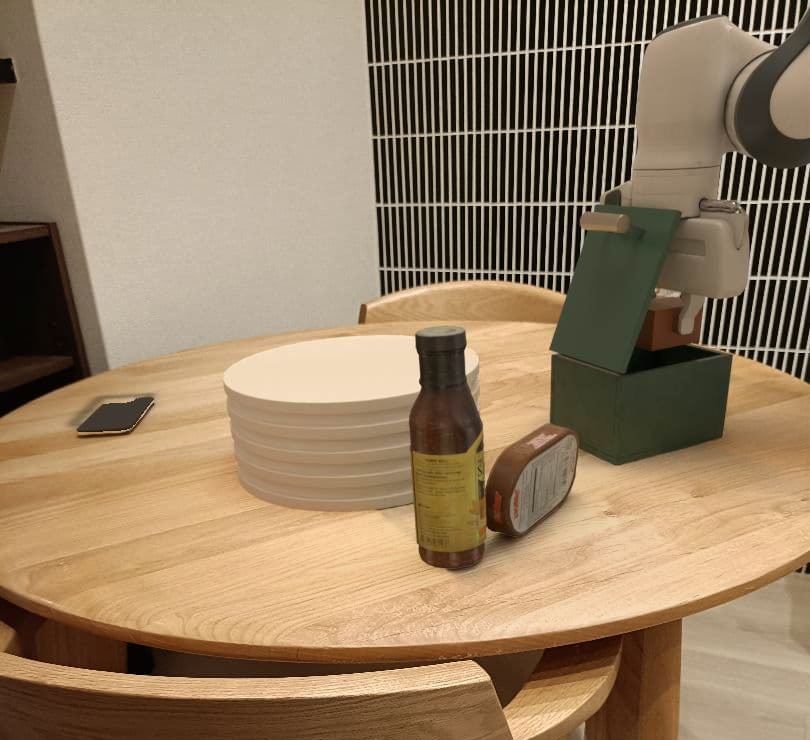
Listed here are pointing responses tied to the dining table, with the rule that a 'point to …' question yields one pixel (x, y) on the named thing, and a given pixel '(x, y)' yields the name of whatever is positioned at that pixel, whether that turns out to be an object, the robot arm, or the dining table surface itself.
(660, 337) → the brown rectangular block
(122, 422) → the phone
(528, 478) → the tin
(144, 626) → the dining table surface
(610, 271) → the bin lid
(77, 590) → the dining table surface
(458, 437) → the sauce bottle
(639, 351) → the bin
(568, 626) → the dining table surface
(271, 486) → the plate stack
